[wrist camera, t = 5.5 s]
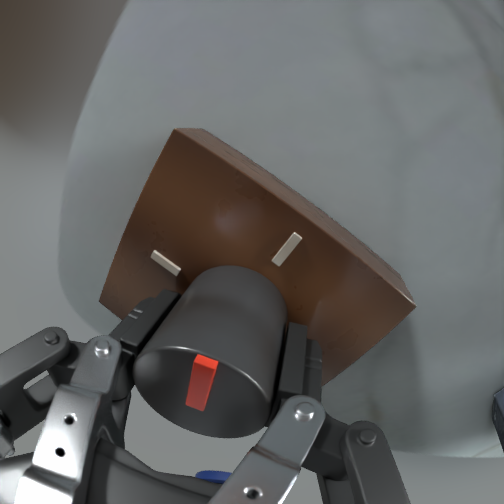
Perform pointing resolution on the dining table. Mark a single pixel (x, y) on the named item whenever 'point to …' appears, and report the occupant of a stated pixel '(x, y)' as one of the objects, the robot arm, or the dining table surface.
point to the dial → (217, 354)
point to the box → (499, 415)
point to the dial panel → (253, 247)
